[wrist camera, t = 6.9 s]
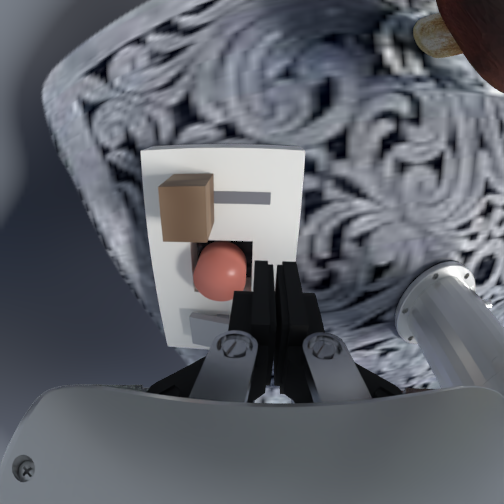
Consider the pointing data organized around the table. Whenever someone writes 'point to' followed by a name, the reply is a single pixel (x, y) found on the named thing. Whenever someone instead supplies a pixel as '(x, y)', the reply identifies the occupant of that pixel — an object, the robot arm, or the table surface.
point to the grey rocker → (206, 328)
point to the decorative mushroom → (467, 35)
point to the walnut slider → (187, 207)
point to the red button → (220, 271)
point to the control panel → (222, 219)
